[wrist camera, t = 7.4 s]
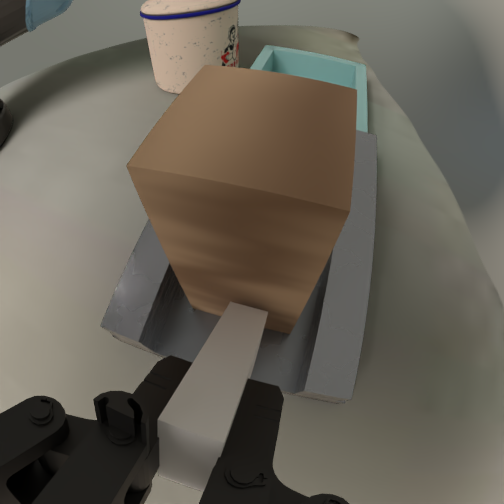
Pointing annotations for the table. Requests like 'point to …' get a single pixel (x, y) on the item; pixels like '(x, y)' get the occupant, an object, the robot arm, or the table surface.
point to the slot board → (272, 342)
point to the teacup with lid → (189, 38)
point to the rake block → (250, 187)
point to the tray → (318, 72)
